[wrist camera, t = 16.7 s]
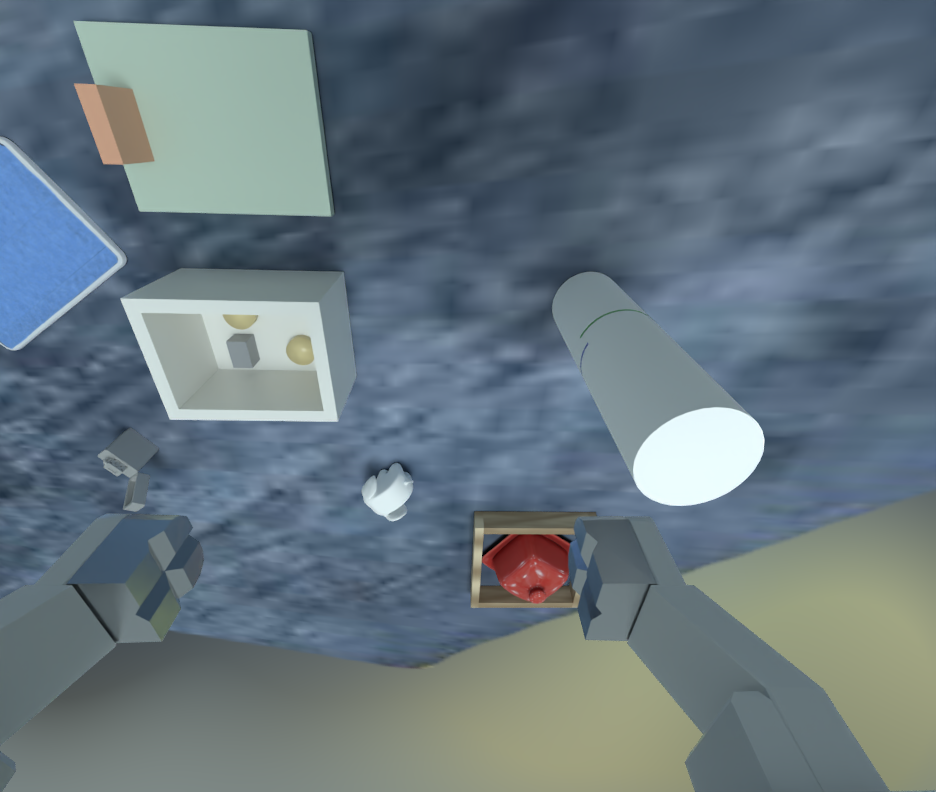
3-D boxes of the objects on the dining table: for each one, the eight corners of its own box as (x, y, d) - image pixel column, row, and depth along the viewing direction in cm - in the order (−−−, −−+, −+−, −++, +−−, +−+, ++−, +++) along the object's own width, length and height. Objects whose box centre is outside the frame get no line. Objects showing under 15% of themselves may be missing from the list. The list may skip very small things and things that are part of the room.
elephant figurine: (351, 471, 57) (341, 504, 52) (400, 444, 55) (394, 476, 50) (384, 501, 60) (377, 536, 55) (430, 477, 58) (428, 511, 53)
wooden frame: (474, 511, 61) (475, 528, 59) (595, 512, 62) (601, 528, 59) (470, 590, 71) (470, 607, 68) (574, 590, 71) (579, 607, 69)
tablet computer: (21, 350, 48) (10, 355, 46) (-108, 250, 42) (-123, 253, 41) (135, 258, 43) (127, 261, 41) (8, 130, 37) (-6, 130, 36)
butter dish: (527, 512, 62) (536, 563, 55) (582, 544, 66) (597, 596, 59) (476, 554, 67) (478, 605, 59) (531, 581, 71) (539, 633, 63)
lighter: (121, 433, 53) (72, 478, 46) (130, 427, 53) (81, 471, 46) (171, 469, 56) (132, 515, 49) (180, 463, 56) (141, 509, 49)
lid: (91, 26, 33) (26, 7, 28) (313, 34, 34) (288, 18, 29) (151, 208, 40) (108, 219, 35) (336, 213, 40) (318, 224, 36)
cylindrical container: (543, 330, 47) (614, 497, 26) (563, 265, 43) (665, 397, 22) (606, 341, 48) (724, 512, 26) (630, 278, 44) (790, 417, 23)
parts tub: (181, 268, 43) (120, 298, 35) (343, 271, 43) (318, 302, 35) (215, 374, 49) (170, 419, 41) (356, 376, 49) (338, 421, 42)
